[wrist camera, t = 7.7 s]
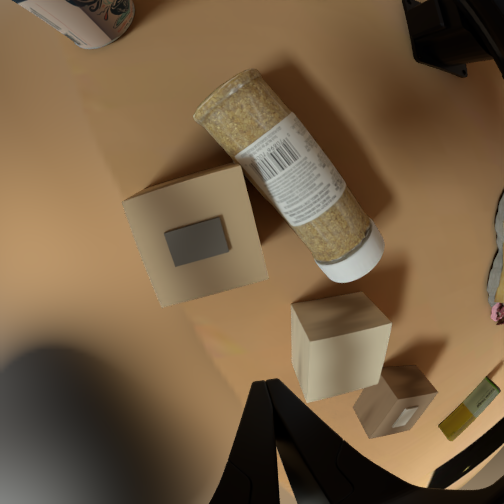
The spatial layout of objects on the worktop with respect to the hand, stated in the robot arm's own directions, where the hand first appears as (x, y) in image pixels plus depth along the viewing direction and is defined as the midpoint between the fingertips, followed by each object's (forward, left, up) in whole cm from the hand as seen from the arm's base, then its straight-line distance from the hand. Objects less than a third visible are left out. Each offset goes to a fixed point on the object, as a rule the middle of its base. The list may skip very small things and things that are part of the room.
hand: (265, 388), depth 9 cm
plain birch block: (-7, +7, -12) cm, 16 cm away
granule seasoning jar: (0, -11, -10) cm, 15 cm away
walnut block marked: (-15, +17, -12) cm, 26 cm away
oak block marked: (+2, -3, -12) cm, 13 cm away
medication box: (-36, +30, -12) cm, 48 cm away
